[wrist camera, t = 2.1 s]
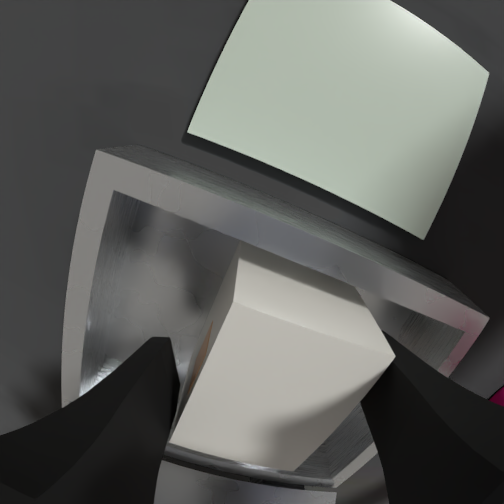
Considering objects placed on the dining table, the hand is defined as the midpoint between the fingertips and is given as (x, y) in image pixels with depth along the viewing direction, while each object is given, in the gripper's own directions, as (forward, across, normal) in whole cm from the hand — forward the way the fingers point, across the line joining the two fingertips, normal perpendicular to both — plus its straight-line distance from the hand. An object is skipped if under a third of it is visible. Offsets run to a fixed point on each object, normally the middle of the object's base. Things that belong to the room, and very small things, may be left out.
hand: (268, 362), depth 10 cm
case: (+3, 0, +1) cm, 3 cm away
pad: (+3, -3, -8) cm, 9 cm away
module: (+2, 0, 0) cm, 2 cm away
